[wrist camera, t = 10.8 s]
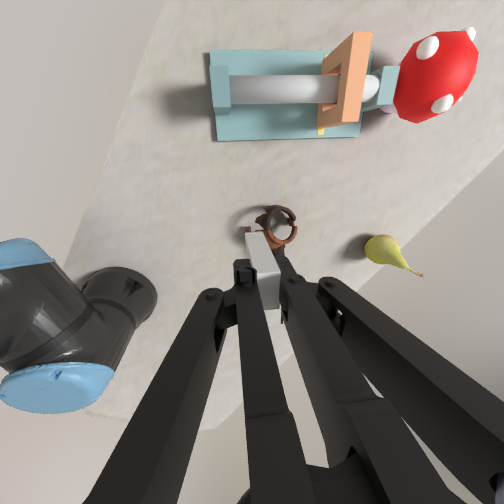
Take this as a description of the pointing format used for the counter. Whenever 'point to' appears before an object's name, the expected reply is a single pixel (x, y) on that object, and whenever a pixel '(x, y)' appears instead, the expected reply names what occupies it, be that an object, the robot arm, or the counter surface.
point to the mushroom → (434, 75)
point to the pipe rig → (285, 94)
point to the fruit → (386, 252)
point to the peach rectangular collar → (346, 80)
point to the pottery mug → (273, 242)
